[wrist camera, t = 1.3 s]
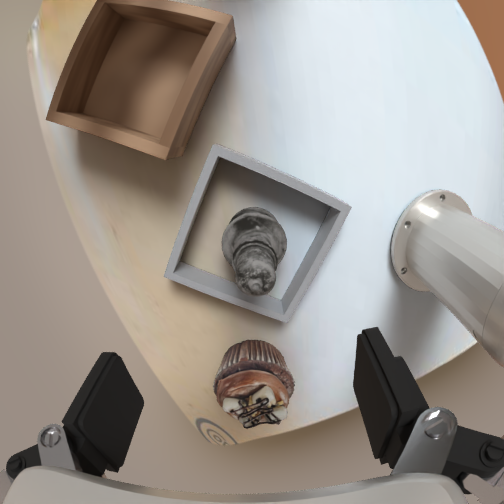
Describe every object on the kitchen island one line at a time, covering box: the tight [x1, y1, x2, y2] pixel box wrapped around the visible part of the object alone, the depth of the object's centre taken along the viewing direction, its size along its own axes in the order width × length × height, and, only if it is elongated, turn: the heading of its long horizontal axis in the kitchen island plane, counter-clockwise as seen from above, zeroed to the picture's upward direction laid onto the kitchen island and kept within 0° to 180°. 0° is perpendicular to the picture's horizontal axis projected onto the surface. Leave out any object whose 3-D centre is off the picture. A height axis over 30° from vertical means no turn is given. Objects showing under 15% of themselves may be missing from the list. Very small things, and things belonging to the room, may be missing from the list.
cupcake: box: [213, 340, 295, 429], centre depth 32 cm, size 10×10×10 cm
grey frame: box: [164, 144, 352, 323], centre depth 28 cm, size 14×14×3 cm
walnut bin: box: [46, 0, 236, 160], centre depth 21 cm, size 13×13×6 cm
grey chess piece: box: [222, 207, 287, 296], centre depth 24 cm, size 6×6×12 cm
